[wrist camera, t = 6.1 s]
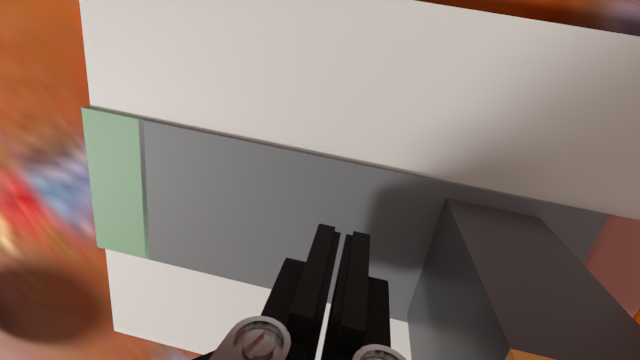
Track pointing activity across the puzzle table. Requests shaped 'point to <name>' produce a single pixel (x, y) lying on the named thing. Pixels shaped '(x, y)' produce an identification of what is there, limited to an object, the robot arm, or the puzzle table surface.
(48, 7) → the puzzle table surface
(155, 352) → the puzzle table surface
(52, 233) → the puzzle table surface
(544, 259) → the toggle
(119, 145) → the panel
